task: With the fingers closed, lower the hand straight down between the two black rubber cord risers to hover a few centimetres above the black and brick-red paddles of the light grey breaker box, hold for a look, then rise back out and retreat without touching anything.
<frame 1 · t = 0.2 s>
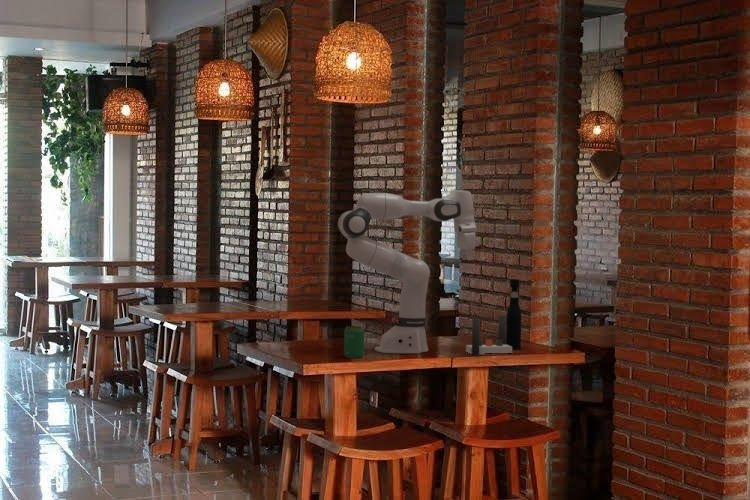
hand: (467, 259, 450), 39 cm above the table, tool pointing down, fingers open, 8 cm apart
breaker paddles: (489, 342, 444), point 4 cm above the table, hinge at 0.0°
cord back: (501, 350, 453), on the table
wine bottle: (513, 349, 459), on the table
breaker box: (488, 353, 444), on the table
beverage can: (353, 357, 426), on the table
cord front: (475, 355, 436), on the table
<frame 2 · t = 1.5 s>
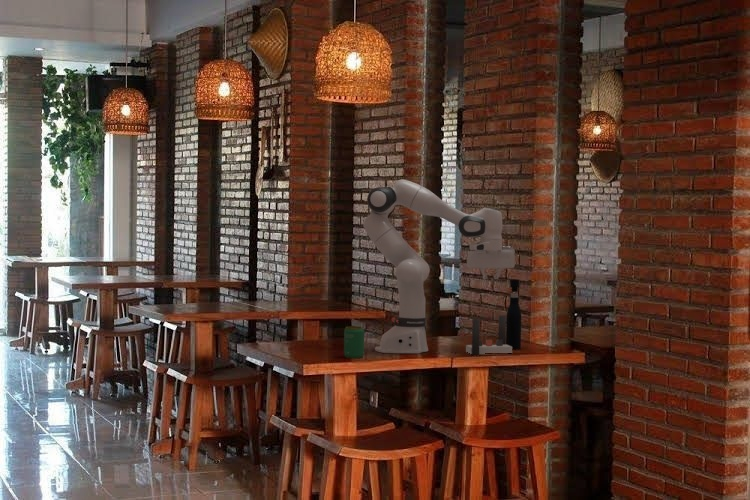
hand: (490, 279, 443), 31 cm above the table, tool pointing down, fingers open, 3 cm apart
nothing on the table moved.
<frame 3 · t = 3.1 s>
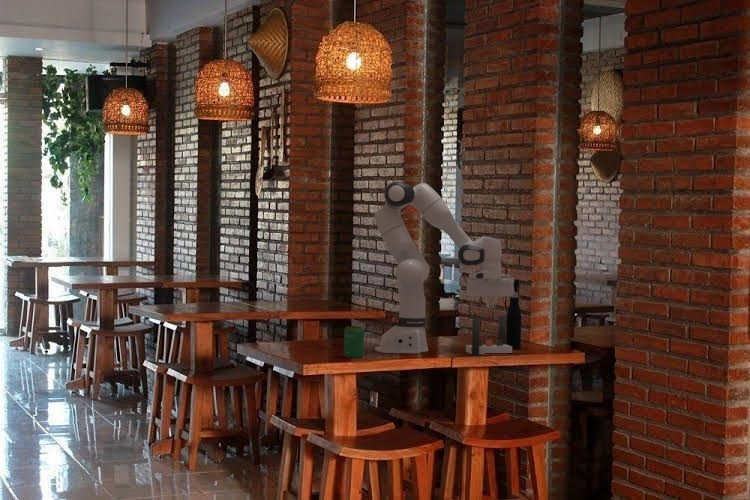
hand: (490, 307, 443), 19 cm above the table, tool pointing down, fingers closed
nothing on the table moved.
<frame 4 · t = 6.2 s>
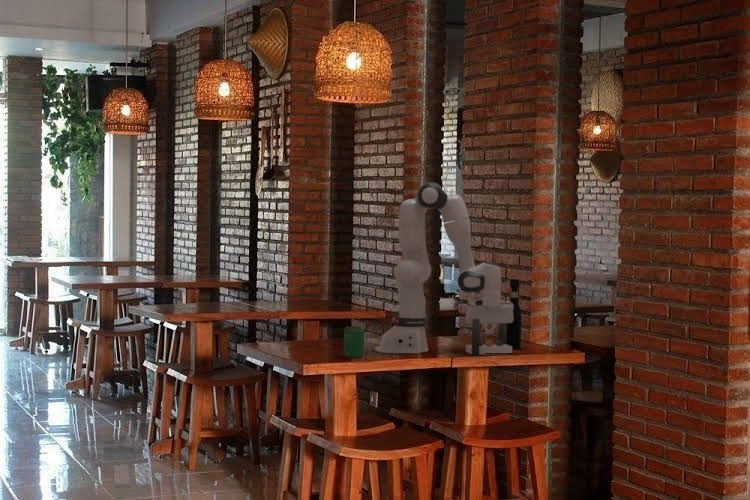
hand: (489, 333, 444), 8 cm above the table, tool pointing down, fingers closed
nothing on the table moved.
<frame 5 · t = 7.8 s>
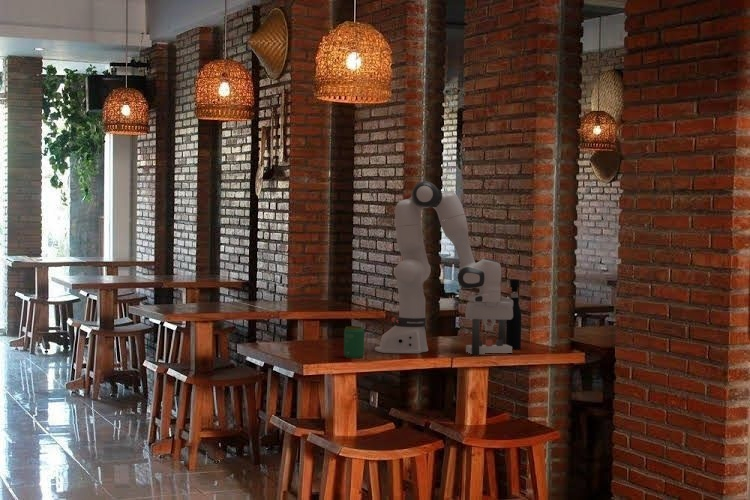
hand: (488, 330, 444), 10 cm above the table, tool pointing down, fingers closed
nothing on the table moved.
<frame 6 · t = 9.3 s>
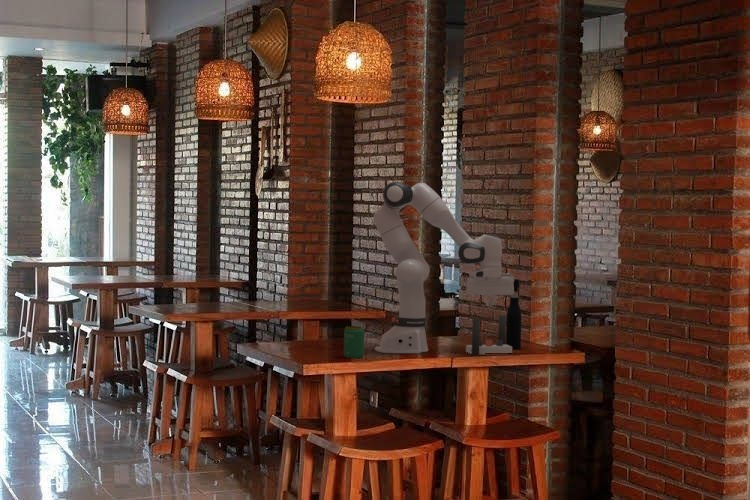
hand: (489, 305, 443), 20 cm above the table, tool pointing down, fingers closed
nothing on the table moved.
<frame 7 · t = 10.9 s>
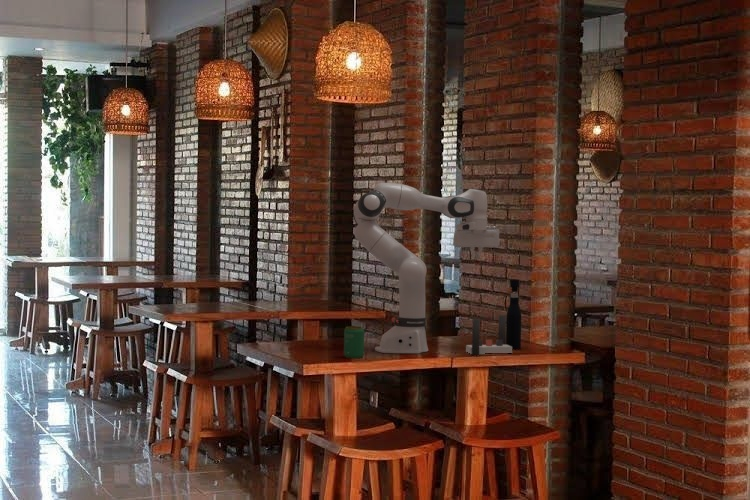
hand: (476, 257, 459), 39 cm above the table, tool pointing down, fingers closed
nothing on the table moved.
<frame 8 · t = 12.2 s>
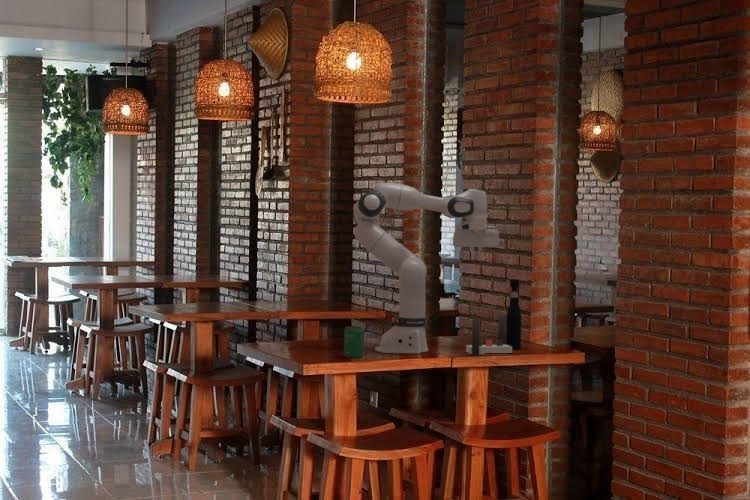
hand: (475, 257, 460), 39 cm above the table, tool pointing down, fingers closed
nothing on the table moved.
at the end: cord front moved 0.0 cm from its start; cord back moved 0.0 cm from its start; breaker paddles at +0° (first picture: +0°) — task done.
